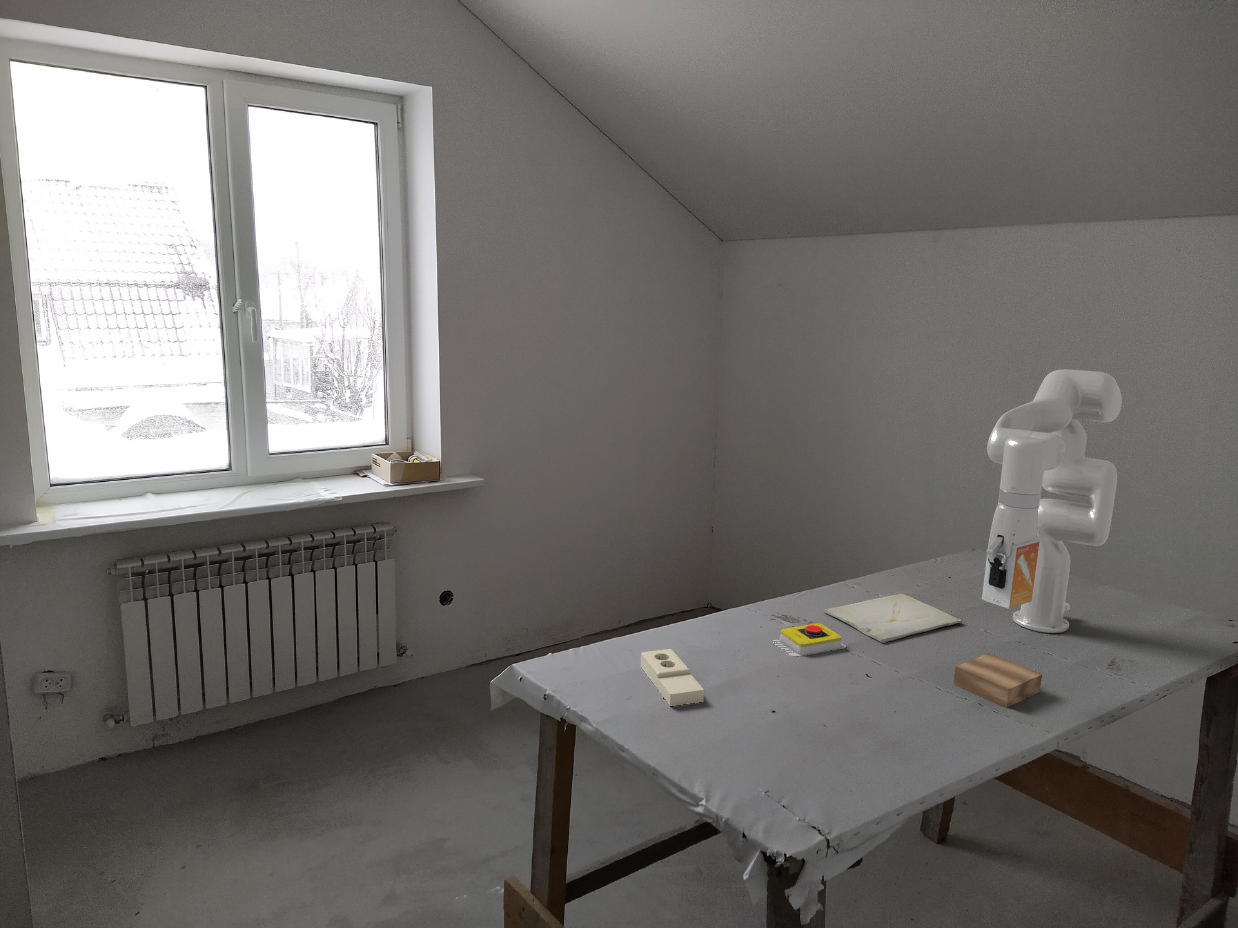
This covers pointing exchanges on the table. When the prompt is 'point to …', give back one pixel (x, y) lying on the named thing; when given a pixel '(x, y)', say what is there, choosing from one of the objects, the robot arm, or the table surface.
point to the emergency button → (809, 639)
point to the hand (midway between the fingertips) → (1009, 582)
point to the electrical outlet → (671, 677)
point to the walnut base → (997, 679)
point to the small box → (1014, 577)
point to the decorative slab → (892, 617)
